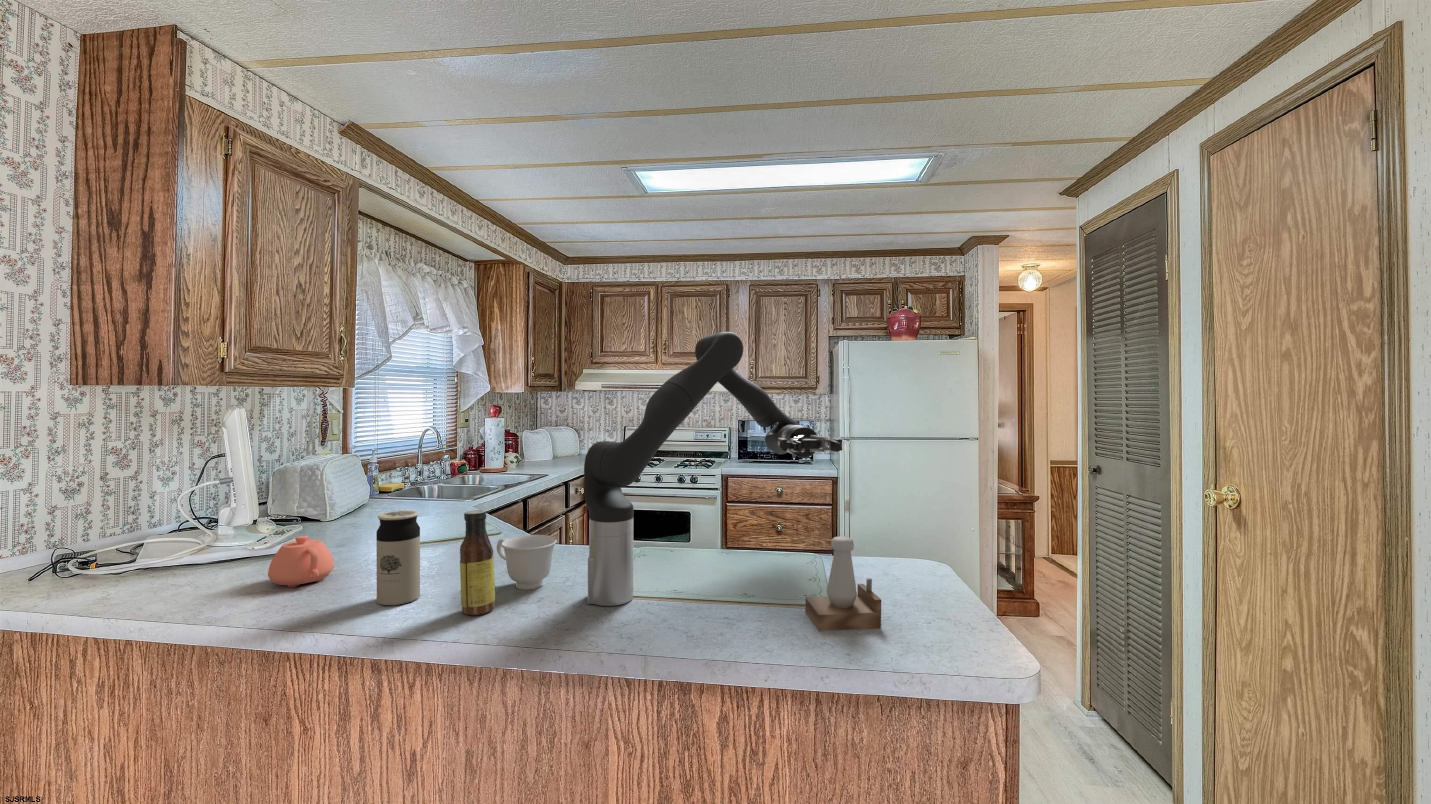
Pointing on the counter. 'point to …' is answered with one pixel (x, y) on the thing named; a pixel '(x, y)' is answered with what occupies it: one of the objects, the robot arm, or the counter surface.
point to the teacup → (527, 558)
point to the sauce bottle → (476, 566)
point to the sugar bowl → (301, 562)
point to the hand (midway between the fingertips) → (818, 447)
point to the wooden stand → (846, 611)
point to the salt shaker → (842, 574)
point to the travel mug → (398, 558)
